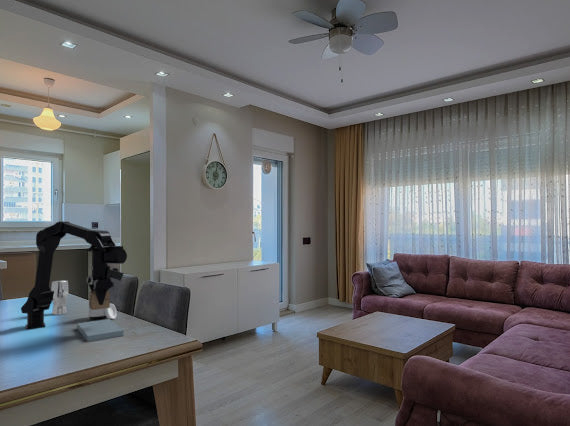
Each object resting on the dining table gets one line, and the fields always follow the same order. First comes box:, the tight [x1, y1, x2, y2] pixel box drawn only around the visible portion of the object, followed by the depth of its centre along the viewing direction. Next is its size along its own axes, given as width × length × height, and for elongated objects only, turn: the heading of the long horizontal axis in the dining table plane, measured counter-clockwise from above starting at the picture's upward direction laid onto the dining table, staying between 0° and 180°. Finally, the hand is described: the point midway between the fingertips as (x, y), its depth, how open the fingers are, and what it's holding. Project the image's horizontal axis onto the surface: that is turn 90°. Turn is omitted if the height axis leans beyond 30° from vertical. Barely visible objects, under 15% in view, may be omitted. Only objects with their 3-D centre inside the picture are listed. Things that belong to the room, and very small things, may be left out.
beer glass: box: [50, 279, 69, 316], centre depth 180 cm, size 7×7×15 cm
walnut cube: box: [88, 290, 111, 310], centre depth 148 cm, size 6×6×6 cm
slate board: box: [76, 318, 124, 343], centre depth 148 cm, size 22×12×2 cm, turn 37°
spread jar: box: [88, 302, 118, 321], centre depth 170 cm, size 12×11×12 cm
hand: (99, 303), depth 148 cm, fingers closed on walnut cube, 6 cm apart
